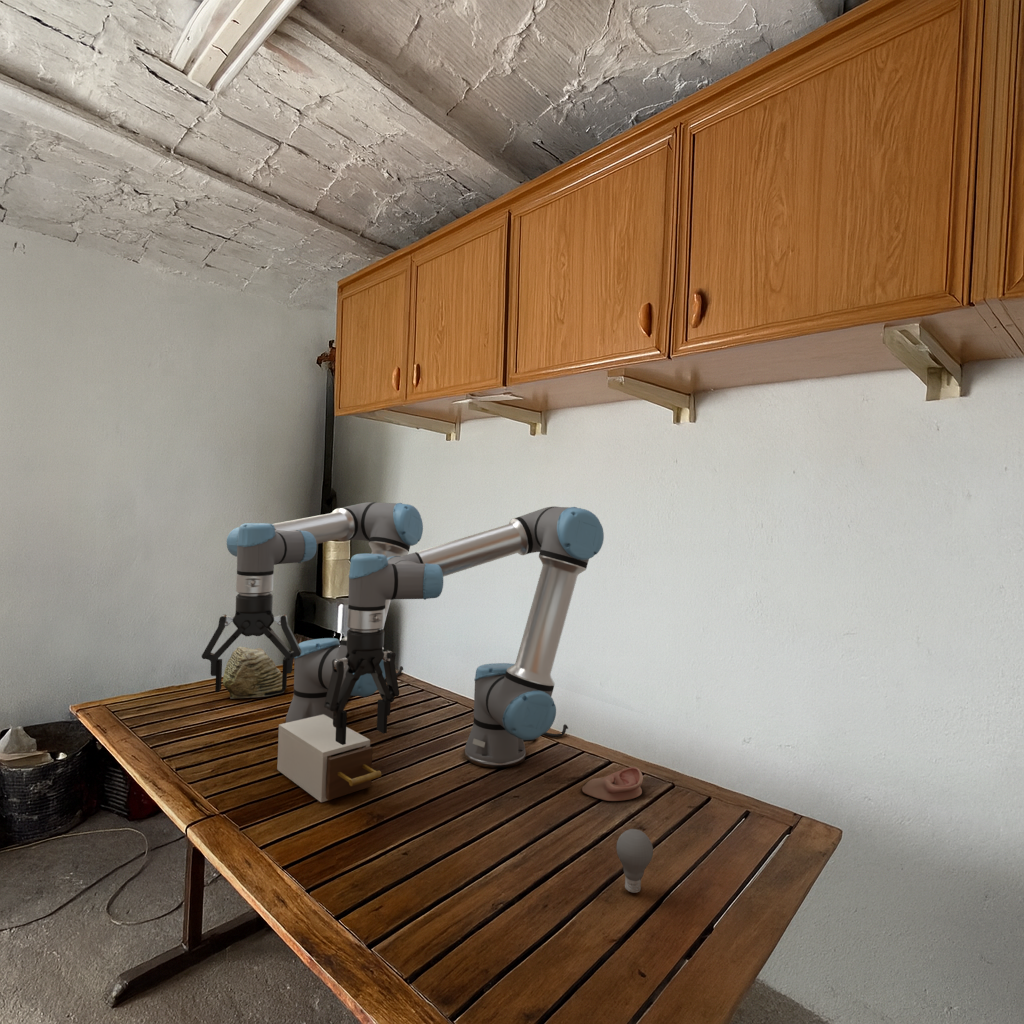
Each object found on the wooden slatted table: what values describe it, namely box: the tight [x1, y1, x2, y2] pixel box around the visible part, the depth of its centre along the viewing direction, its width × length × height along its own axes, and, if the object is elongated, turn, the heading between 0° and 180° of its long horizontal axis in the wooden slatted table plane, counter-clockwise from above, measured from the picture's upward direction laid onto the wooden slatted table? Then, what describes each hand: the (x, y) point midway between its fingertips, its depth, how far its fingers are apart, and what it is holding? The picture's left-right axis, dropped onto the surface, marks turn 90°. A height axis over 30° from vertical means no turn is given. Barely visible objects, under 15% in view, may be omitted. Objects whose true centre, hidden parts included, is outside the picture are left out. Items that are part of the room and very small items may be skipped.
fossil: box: [222, 646, 288, 699], centre depth 198 cm, size 9×18×15 cm, turn 132°
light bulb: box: [615, 828, 654, 894], centre depth 106 cm, size 6×6×10 cm
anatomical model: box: [581, 766, 644, 802], centre depth 142 cm, size 13×4×12 cm
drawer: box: [326, 745, 382, 801], centre depth 138 cm, size 25×10×8 cm, turn 45°
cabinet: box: [276, 714, 371, 803], centre depth 142 cm, size 21×11×10 cm, turn 45°
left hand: (251, 689), depth 140 cm, fingers open, 13 cm apart
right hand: (361, 736), depth 131 cm, fingers open, 9 cm apart
